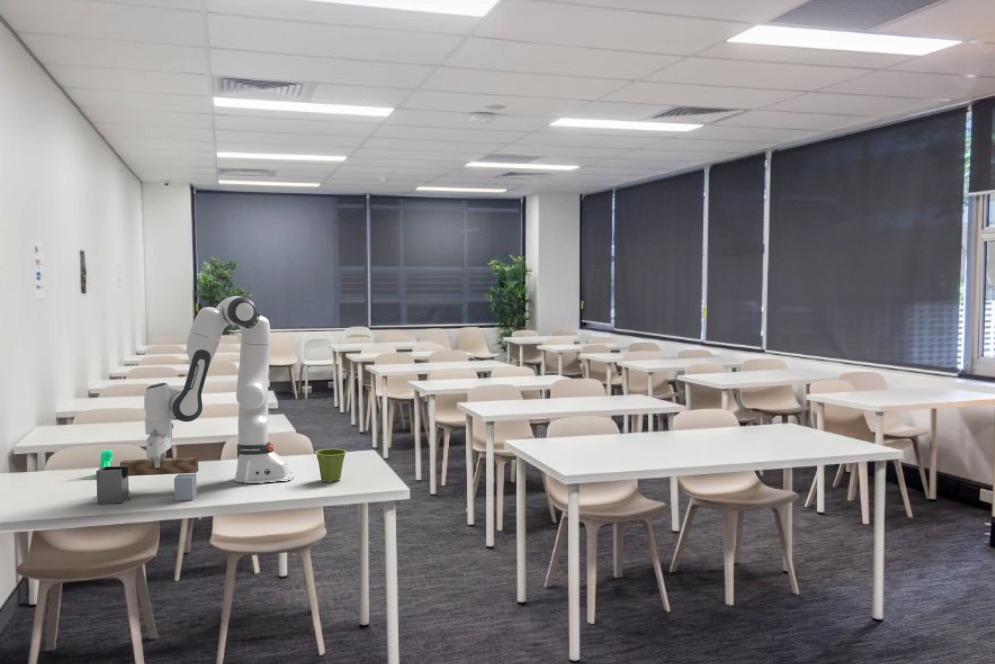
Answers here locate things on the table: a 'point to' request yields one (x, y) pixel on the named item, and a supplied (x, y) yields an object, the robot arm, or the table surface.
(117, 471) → the cup bracket
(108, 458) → the camera mount
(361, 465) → the table surface
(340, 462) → the plant pot
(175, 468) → the rail
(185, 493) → the block
